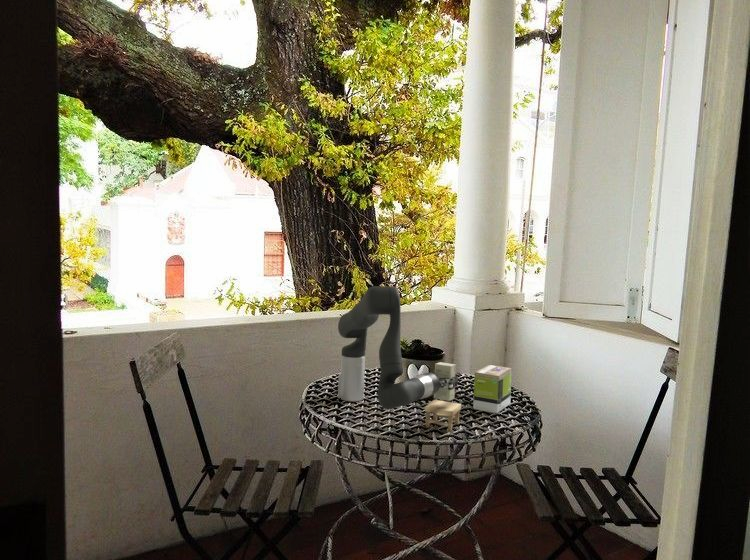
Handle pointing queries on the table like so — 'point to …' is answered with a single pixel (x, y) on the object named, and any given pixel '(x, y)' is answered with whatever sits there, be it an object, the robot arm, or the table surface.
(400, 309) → the robot arm
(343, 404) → the table surface
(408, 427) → the table surface
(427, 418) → the wooden stool
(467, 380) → the table surface
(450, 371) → the skincare box
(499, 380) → the tea box
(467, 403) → the table surface
